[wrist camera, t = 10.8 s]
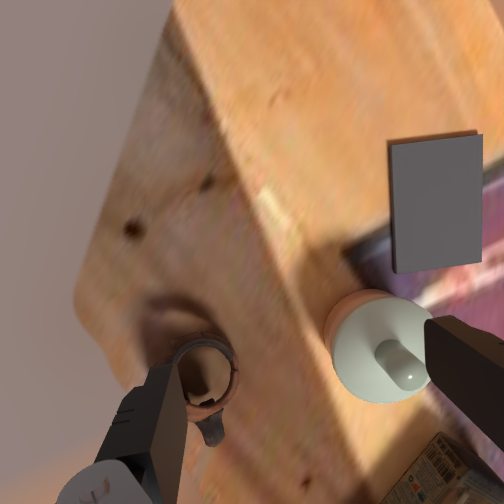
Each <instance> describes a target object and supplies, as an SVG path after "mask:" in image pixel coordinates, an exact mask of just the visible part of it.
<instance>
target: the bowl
mask: <svg viewBox="0 0 504 504" xmlns="http://www.w3.org/2000/svg"><path fill="white" fill-rule="evenodd" d="M383 296H394V295H392V294H390V293H388V292H386V291H383V290H378V289H364V290H359V291H356V292H353V293H351V294H349V295H347V296H346V297H344V298H343V299H342V300H340V301H339V302H338V303H337V304H336V305H335V306H334V308H333V309H332V310H331V312H330V314H329V316H328V318H327V320H326V323H325V328H324V341H325V345H326V348H327V351H328V353H329V354H330V356H331V345H332V340H333V336H334V334H335V331H336V329H337V327H338V326H339V324H340V322H341V321H342V320H343V318H344V317H345V316H346V315H347V314H348V313H349V312H350V311H351V310H353V309H354V308H355V307H357V306H358V305H360V304H361V303H363V302H365V301H367V300H370V299H373V298H377V297H383Z"/></svg>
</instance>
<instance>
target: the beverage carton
mask: <svg viewBox="0 0 504 504" xmlns="http://www.w3.org/2000/svg"><path fill="white" fill-rule="evenodd" d="M380 504H504V482H503V481H502V480H501V479H500V478H499V477H498V476H497V474H496V473H495V472H494V471H493V470H492V469H491V468H490V467H489V466H488V465H487V464H486V463H485V462H484V461H483V460H482V459H481V458H480V457H478V456H477V455H475V454H474V453H472V452H471V451H469V450H468V449H466V448H465V447H464V446H462V445H461V444H459V443H458V442H456V441H455V440H453V439H451V438H450V437H448V436H447V435H445V434H444V433H442V432H439V434H438V435H437V436H436V437H435V438H434V439H433V441H432V442H431V443H430V444H429V445H428V447H427V448H426V449H425V450H424V452H423V453H422V454H421V455H420V456H419V457H418V459H417V460H416V461H415V462H414V464H413V465H412V466H411V467H410V468H409V470H408V471H407V472H406V473H405V475H404V476H403V477H402V478H401V479H400V480H399V482H398V483H397V484H396V485H395V486H394V488H393V489H392V490H391V491H390V493H389V494H388V495H387V496H386V497H385V499H384V500H383V501H382V502H381V503H380Z"/></svg>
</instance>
